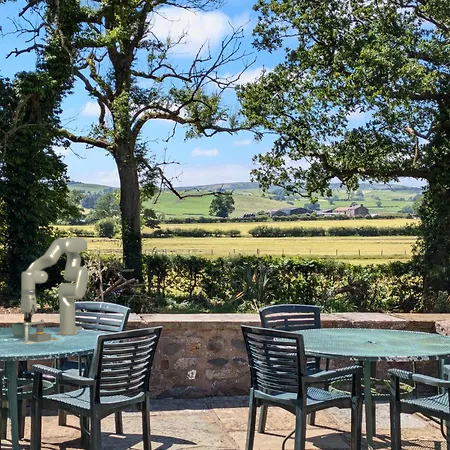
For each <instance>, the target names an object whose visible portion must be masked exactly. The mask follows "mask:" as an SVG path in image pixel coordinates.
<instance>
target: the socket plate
mask: <svg viewBox="0 0 450 450" xmlns="http://www.w3.org/2000/svg"><path fill="white" fill-rule="evenodd" d="M51 338H52V333H49V332H44V334H41V335H37V334H36V332H35V333H29V335H28V326H25V338H24V341H19V343H21V344H27V345H32V344H38V343H44V342H51V341H52V342H53V341H54V340H51Z"/></svg>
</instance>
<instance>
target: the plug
mask: <svg viewBox="0 0 450 450" xmlns="http://www.w3.org/2000/svg"><path fill="white" fill-rule="evenodd" d="M35 325H36V331H35V333H36V334H37V335H41V334H44V333H45V331H44V324H35Z"/></svg>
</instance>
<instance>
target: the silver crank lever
mask: <svg viewBox="0 0 450 450" xmlns="http://www.w3.org/2000/svg"><path fill="white" fill-rule="evenodd" d="M23 323H24V326H28V325H31V326H32V325H41V324H45V321H44V319H40V320H39V321H31V322H25V321H23Z"/></svg>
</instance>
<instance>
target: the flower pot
mask: <svg viewBox="0 0 450 450" xmlns="http://www.w3.org/2000/svg"><path fill="white" fill-rule="evenodd" d="M31 329H32V324H31V325H28V336H29V334H31ZM11 331H12V334H13V336H14V338H15V339H25V326H24V322H21V321H20V322H19V321H18V322H15V323H11Z"/></svg>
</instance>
